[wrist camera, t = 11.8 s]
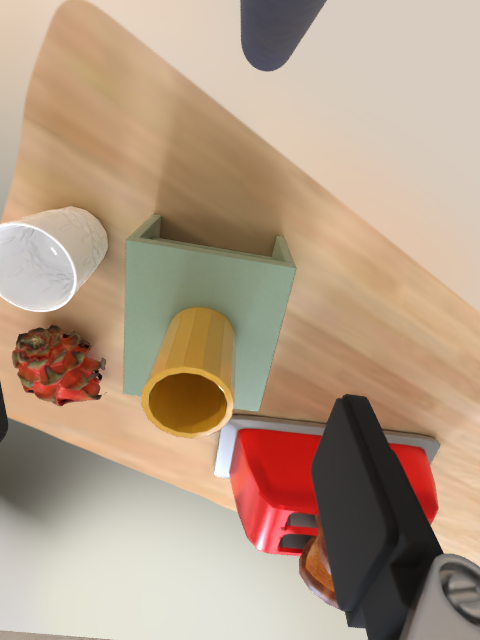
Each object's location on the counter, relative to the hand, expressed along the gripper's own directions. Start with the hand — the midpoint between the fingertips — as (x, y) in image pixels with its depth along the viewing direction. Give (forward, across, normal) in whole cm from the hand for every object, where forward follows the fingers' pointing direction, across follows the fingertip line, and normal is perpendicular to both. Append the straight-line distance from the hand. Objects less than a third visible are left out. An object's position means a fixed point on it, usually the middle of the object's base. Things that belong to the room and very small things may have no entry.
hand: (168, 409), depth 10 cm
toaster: (+31, -20, +34) cm, 50 cm away
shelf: (+30, 0, +10) cm, 32 cm away
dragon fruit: (+31, +16, +21) cm, 40 cm away
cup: (+20, 0, +10) cm, 23 cm away
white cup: (+31, +15, +6) cm, 35 cm away
